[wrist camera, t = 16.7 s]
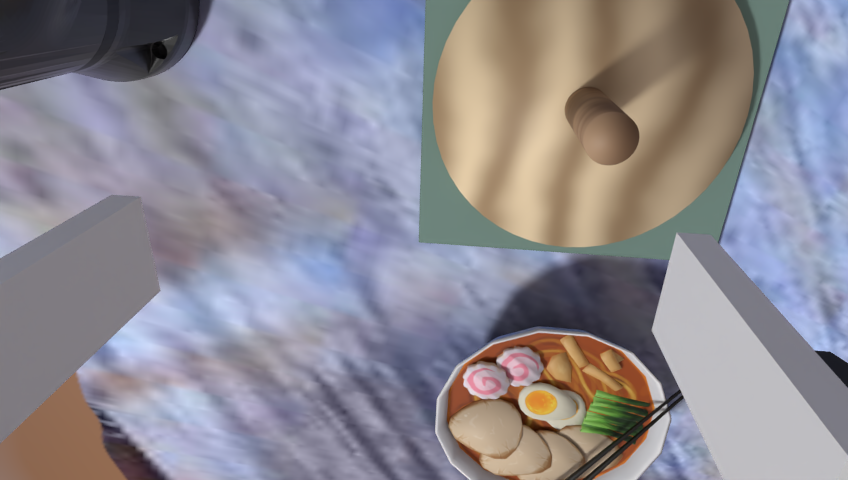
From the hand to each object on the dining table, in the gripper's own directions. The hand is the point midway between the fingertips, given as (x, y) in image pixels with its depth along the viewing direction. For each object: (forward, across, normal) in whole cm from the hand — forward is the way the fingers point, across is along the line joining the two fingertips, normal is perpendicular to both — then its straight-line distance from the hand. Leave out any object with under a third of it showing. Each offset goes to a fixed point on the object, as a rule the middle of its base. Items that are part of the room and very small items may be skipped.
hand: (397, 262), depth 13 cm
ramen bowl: (+37, +11, -33) cm, 51 cm away
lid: (+36, +11, -3) cm, 38 cm away
